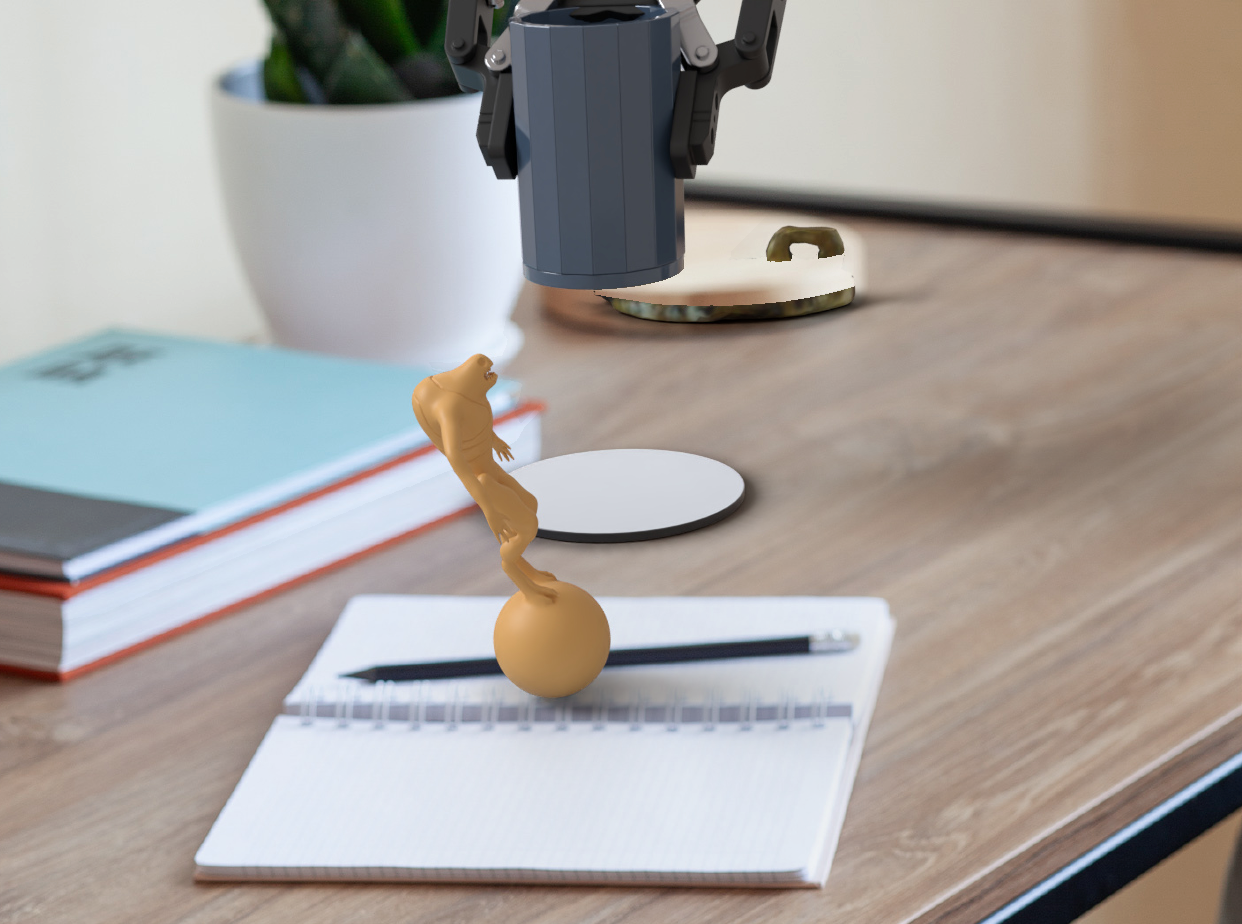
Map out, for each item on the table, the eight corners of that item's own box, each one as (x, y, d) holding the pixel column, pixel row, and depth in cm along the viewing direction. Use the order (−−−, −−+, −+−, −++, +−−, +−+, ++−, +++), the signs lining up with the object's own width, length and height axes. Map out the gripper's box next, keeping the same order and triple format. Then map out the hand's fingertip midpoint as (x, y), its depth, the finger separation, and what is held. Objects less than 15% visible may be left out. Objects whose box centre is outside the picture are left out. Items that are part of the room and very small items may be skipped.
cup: (703, 253, 87) (697, 2, 83) (658, 292, 82) (650, 25, 77) (553, 249, 89) (541, 4, 85) (500, 287, 84) (484, 27, 79)
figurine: (618, 741, 68) (601, 383, 63) (433, 752, 68) (401, 395, 63) (608, 641, 75) (592, 314, 70) (441, 651, 75) (413, 325, 70)
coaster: (771, 463, 92) (771, 455, 92) (706, 550, 83) (706, 541, 83) (537, 451, 96) (537, 443, 96) (450, 533, 87) (449, 524, 87)
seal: (580, 342, 117) (851, 336, 114) (573, 261, 114) (850, 253, 111) (605, 283, 124) (859, 276, 122) (599, 206, 122) (858, 197, 119)
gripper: (454, -230, 86) (391, 114, 81) (804, -249, 82) (761, 108, 77) (496, -103, 93) (440, 221, 87) (821, -116, 89) (783, 221, 84)
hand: (591, 167), depth 82 cm, fingers closed on cup, 6 cm apart
